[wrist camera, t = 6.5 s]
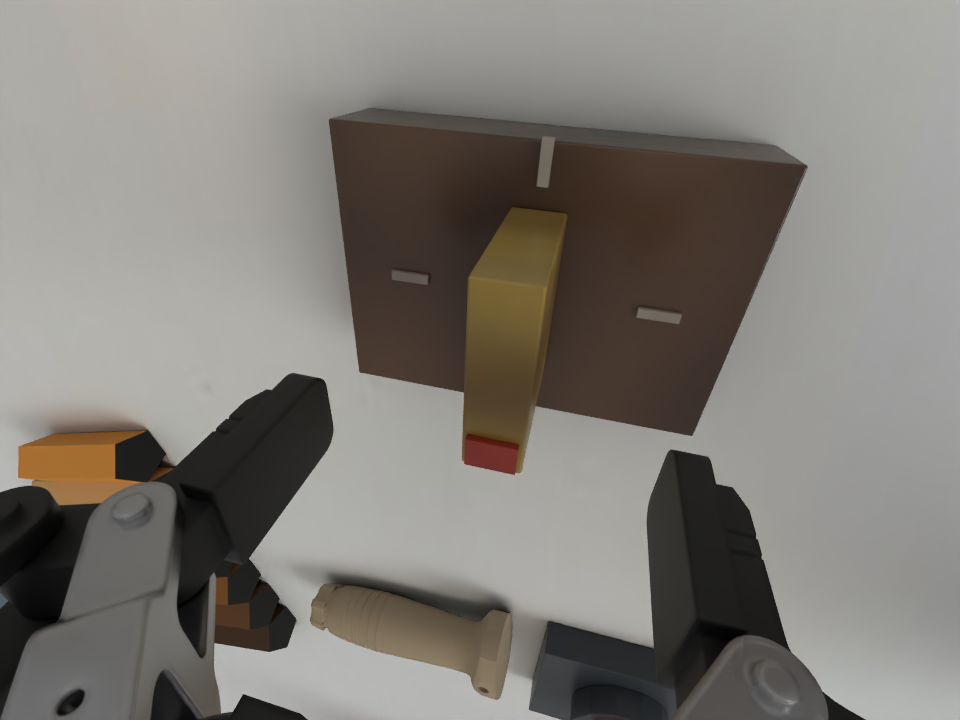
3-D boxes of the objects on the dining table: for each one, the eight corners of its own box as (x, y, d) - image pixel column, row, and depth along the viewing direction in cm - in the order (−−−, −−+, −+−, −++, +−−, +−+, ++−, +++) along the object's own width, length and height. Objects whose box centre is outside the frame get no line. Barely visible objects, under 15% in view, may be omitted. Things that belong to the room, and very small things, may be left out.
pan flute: (117, 599, 52) (299, 624, 44) (90, 630, 50) (278, 662, 42) (-66, 432, 40) (141, 422, 32) (-116, 460, 37) (97, 458, 29)
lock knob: (511, 206, 15) (464, 280, 10) (568, 212, 15) (545, 292, 10) (498, 360, 18) (458, 468, 14) (544, 368, 18) (519, 481, 13)
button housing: (724, 667, 32) (736, 738, 29) (680, 722, 37) (686, 786, 34) (548, 621, 34) (541, 682, 30) (532, 679, 39) (525, 736, 36)
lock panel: (779, 142, 15) (813, 162, 12) (682, 392, 21) (692, 441, 18) (367, 104, 17) (324, 115, 15) (385, 339, 23) (357, 376, 20)
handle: (326, 552, 37) (510, 598, 33) (344, 596, 41) (513, 643, 37) (289, 610, 33) (493, 671, 29) (313, 654, 37) (497, 713, 33)
